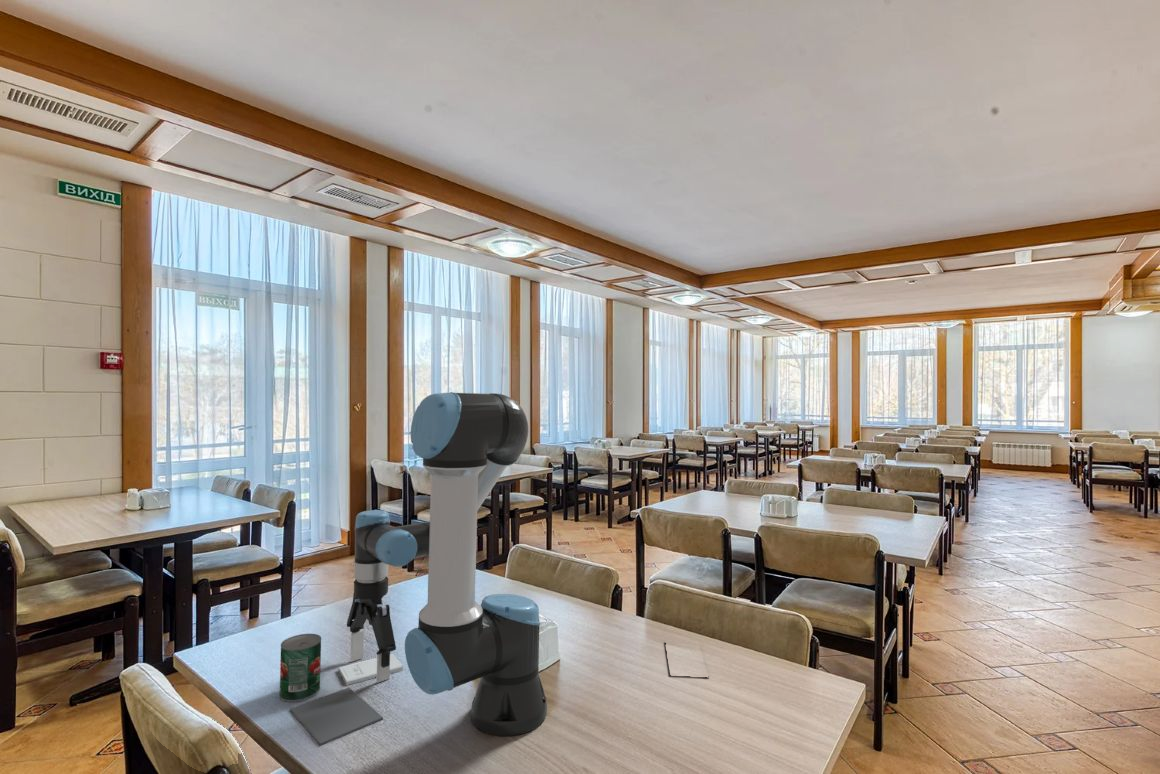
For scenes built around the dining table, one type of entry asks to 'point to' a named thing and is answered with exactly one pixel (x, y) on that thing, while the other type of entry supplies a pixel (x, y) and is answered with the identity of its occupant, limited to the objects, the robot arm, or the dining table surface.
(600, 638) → the dining table surface
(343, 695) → the mat
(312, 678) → the canned tomato
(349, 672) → the external hard drive
